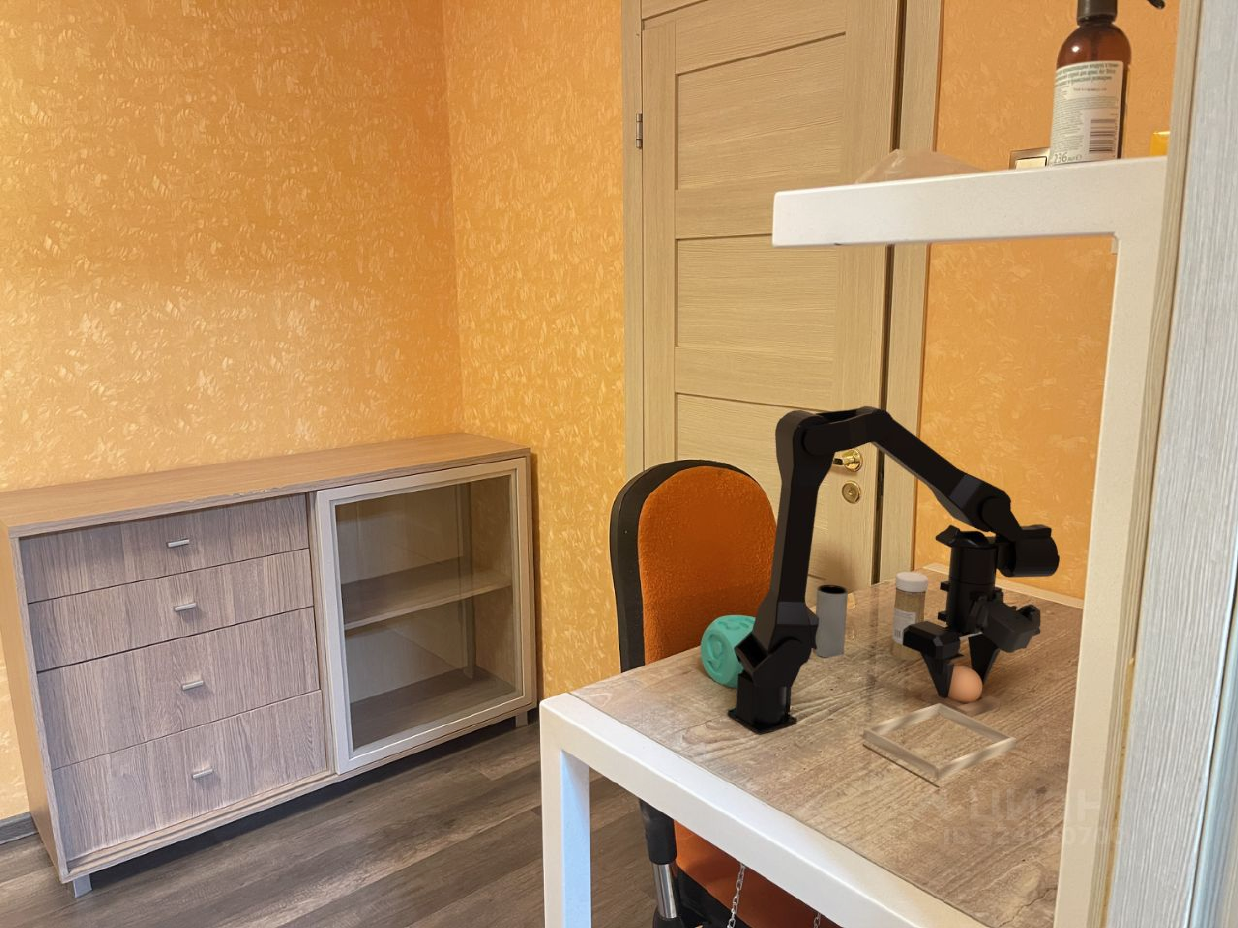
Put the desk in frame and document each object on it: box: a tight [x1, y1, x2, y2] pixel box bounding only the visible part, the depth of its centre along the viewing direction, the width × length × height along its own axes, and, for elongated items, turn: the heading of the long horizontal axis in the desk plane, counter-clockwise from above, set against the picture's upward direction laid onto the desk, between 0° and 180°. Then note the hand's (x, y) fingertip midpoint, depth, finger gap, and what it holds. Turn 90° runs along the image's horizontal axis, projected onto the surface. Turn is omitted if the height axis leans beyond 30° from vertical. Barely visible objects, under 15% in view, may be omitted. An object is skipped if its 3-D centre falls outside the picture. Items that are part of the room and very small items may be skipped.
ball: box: [948, 665, 983, 705], centre depth 118 cm, size 5×5×5 cm
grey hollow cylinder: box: [813, 584, 849, 659], centre depth 136 cm, size 4×4×10 cm
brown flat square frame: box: [921, 686, 1002, 718], centre depth 118 cm, size 7×7×2 cm
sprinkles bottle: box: [891, 571, 929, 661], centre depth 133 cm, size 5×5×13 cm
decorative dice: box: [700, 614, 756, 689], centre depth 127 cm, size 8×8×8 cm
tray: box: [862, 703, 1018, 789], centre depth 107 cm, size 14×11×2 cm
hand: (961, 690), depth 118 cm, fingers open, 7 cm apart
